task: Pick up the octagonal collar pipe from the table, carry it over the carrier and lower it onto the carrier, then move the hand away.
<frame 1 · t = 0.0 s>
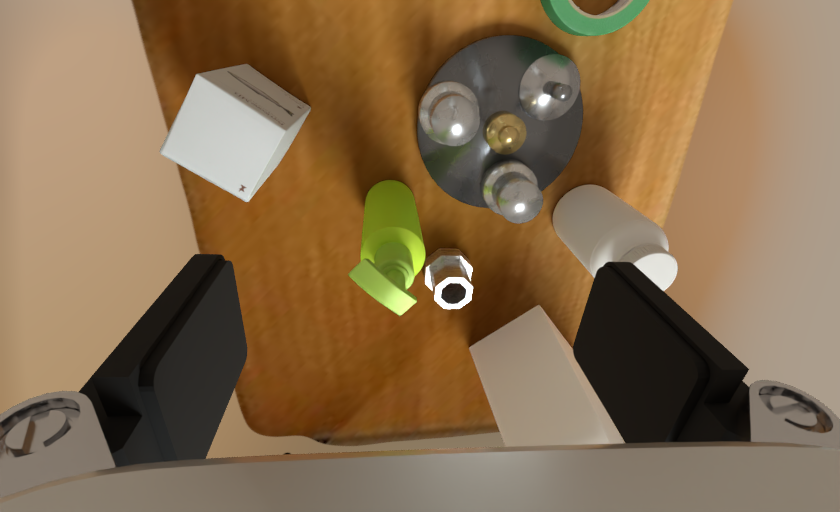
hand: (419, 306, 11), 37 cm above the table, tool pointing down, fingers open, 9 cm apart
carrier: (498, 127, 45), on the table
milk: (522, 348, 61), on the table
pill bottle: (581, 212, 51), on the table
octagonal collar pipe: (446, 267, 53), on the table
supplement box: (264, 114, 43), on the table
soap dispenser: (386, 200, 48), on the table
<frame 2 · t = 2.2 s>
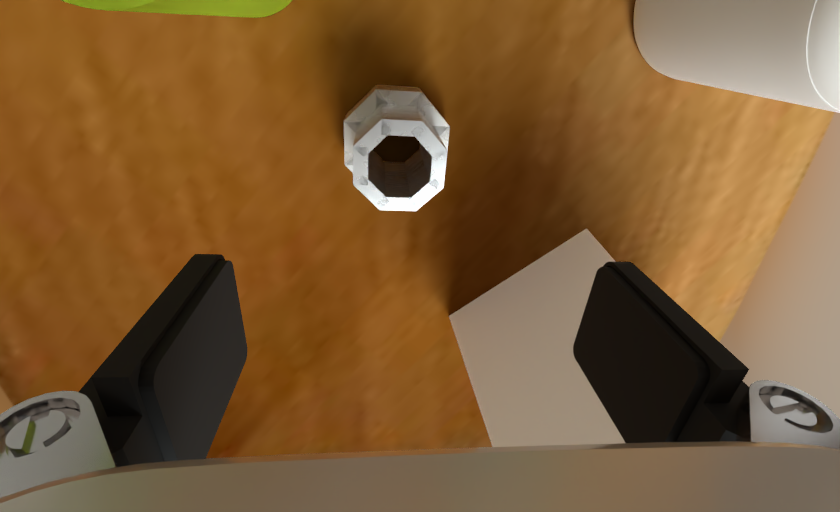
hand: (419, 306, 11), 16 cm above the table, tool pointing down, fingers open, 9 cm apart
milk: (548, 318, 33), on the table
pill bottle: (697, 1, 23), on the table
octagonal collar pipe: (395, 137, 25), on the table
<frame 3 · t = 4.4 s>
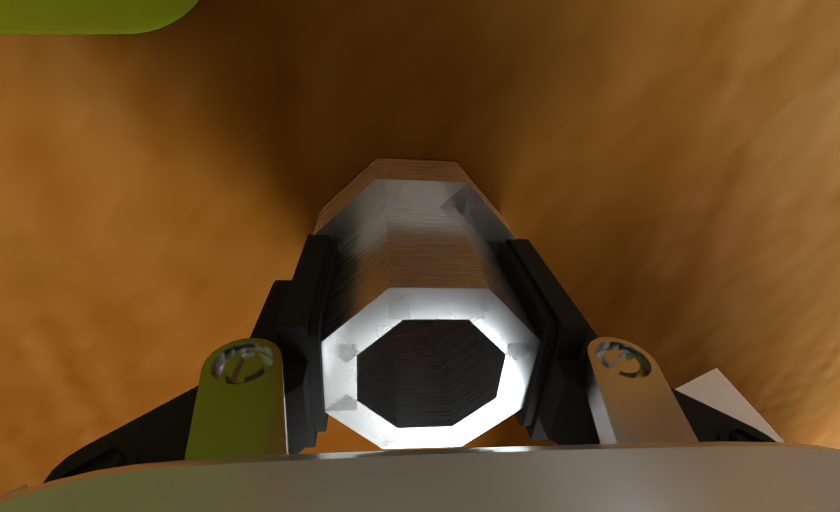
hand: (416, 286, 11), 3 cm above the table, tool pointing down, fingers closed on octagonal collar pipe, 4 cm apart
milk: (636, 480, 22), on the table
octagonal collar pipe: (411, 245, 14), on the table, touching gripper
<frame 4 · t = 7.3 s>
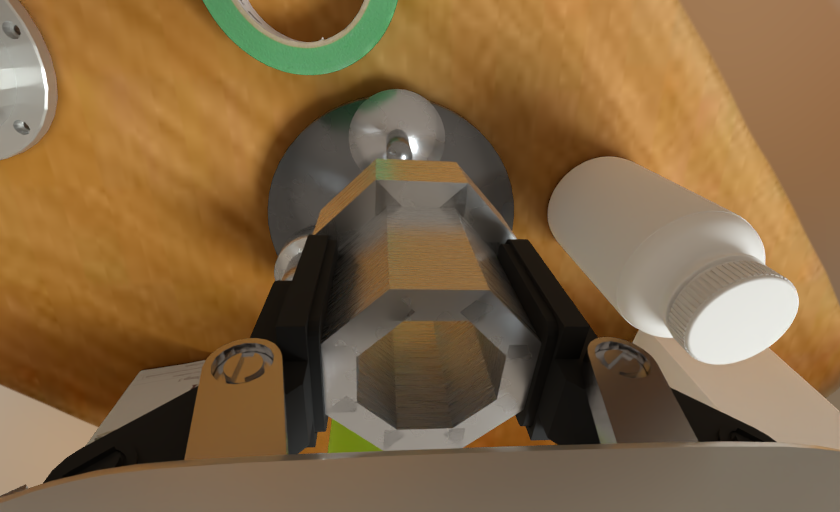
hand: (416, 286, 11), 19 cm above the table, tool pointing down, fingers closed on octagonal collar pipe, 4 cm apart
carrier: (393, 220, 31), on the table
milk: (668, 371, 42), on the table
pill bottle: (593, 203, 32), on the table
octagonal collar pipe: (411, 246, 14), point 17 cm above the table, touching gripper
supplement box: (197, 388, 38), on the table
soap dispenser: (365, 364, 38), on the table
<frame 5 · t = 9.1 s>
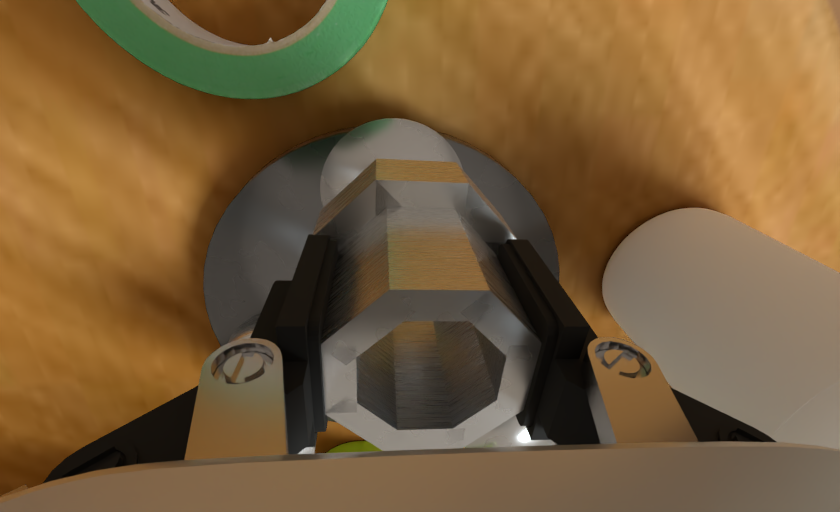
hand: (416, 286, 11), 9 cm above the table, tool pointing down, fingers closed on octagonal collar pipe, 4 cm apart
carrier: (388, 295, 22), on the table
pill bottle: (663, 266, 23), on the table
octagonal collar pipe: (411, 246, 14), point 6 cm above the table, touching gripper
soap dispenser: (352, 465, 29), on the table
when the fingers open (5 cm above the table, at t = 10.6 s): octagonal collar pipe drops 1 cm, resting on carrier.
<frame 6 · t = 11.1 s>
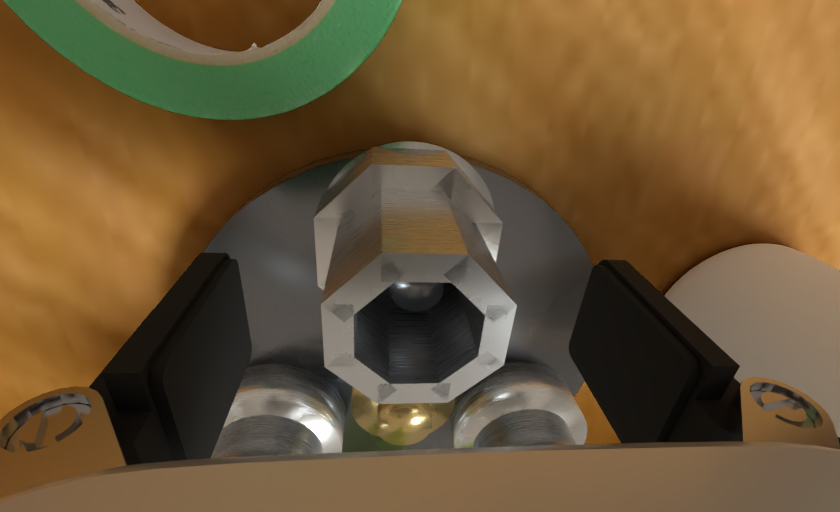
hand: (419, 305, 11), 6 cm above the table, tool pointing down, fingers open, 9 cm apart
carrier: (399, 341, 19), on the table
pill bottle: (721, 308, 20), on the table
octagonal collar pipe: (405, 228, 15), point 1 cm above the table, touching carrier
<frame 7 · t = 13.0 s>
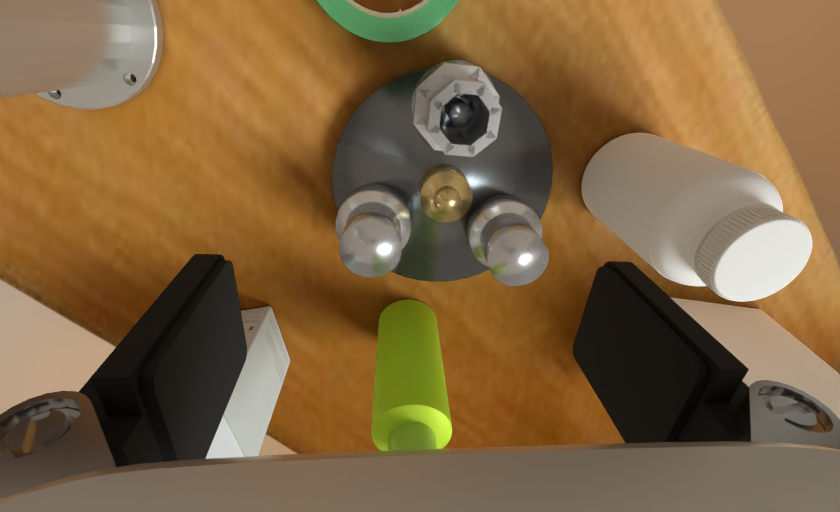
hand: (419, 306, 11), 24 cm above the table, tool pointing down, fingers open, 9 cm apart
carrier: (441, 183, 34), on the table
milk: (683, 346, 45), on the table
pill bottle: (623, 177, 35), on the table
octagonal collar pipe: (452, 106, 30), point 1 cm above the table, touching carrier
supplement box: (247, 336, 41), on the table
soap dispenser: (402, 321, 41), on the table
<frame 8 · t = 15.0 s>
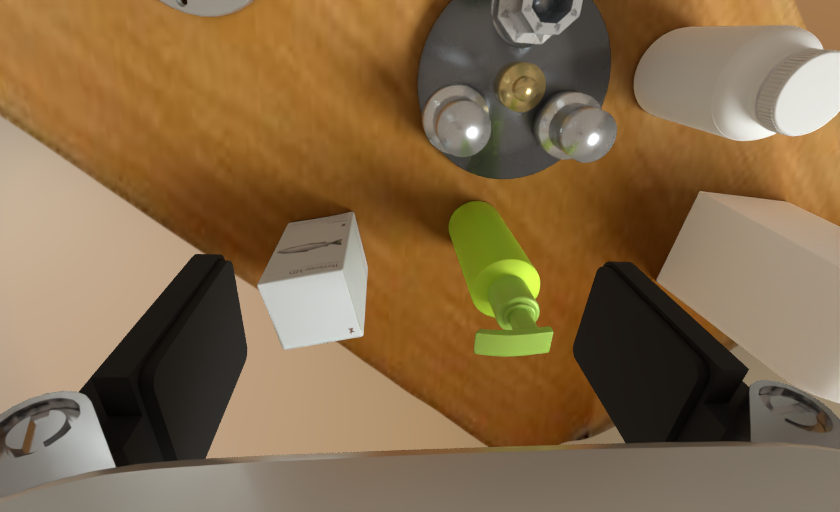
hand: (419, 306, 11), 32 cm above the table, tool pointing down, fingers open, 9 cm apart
carrier: (511, 83, 39), on the table
milk: (717, 242, 50), on the table
pill bottle: (670, 73, 40), on the table
octagonal collar pipe: (527, 4, 34), point 1 cm above the table, touching carrier
supplement box: (329, 244, 45), on the table
soap dispenser: (469, 224, 46), on the table
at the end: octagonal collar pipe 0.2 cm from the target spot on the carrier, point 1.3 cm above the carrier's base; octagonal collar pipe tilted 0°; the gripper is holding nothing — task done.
